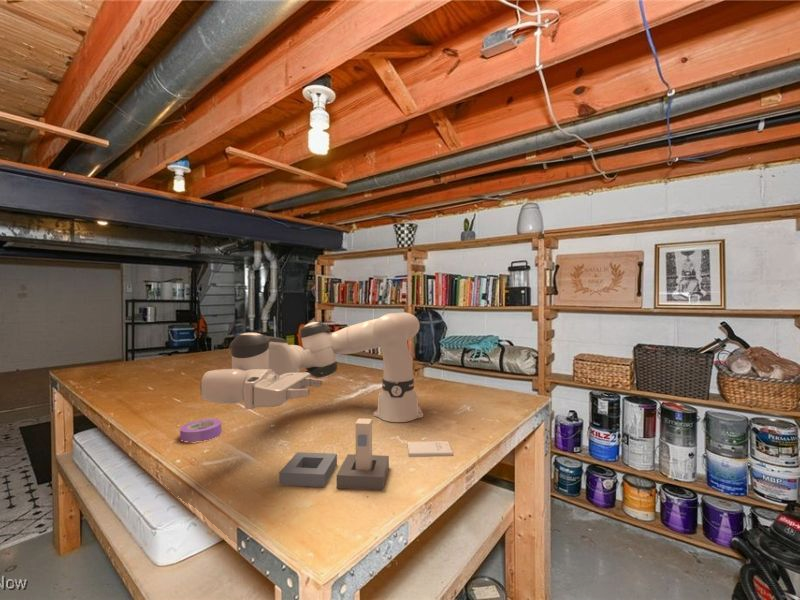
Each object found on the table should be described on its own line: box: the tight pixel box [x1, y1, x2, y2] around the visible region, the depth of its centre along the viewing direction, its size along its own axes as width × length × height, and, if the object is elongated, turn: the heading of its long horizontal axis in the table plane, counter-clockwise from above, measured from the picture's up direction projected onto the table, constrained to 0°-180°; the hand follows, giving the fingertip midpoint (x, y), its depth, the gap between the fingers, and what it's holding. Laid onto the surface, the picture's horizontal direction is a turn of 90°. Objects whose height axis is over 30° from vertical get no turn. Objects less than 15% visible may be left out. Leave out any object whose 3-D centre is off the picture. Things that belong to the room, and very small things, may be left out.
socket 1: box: [278, 451, 338, 488], centre depth 89 cm, size 11×11×3 cm
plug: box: [354, 418, 373, 471], centre depth 87 cm, size 4×4×14 cm
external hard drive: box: [406, 440, 453, 458], centre depth 103 cm, size 2×8×12 cm
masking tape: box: [179, 418, 223, 442], centre depth 114 cm, size 12×12×4 cm
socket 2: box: [336, 453, 390, 491], centre depth 87 cm, size 11×11×3 cm
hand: (315, 387), depth 88 cm, fingers open, 8 cm apart
